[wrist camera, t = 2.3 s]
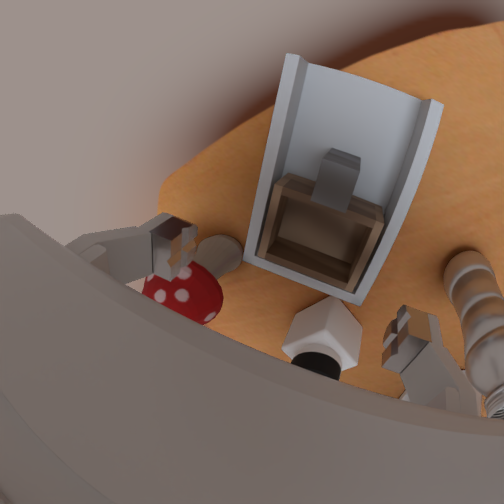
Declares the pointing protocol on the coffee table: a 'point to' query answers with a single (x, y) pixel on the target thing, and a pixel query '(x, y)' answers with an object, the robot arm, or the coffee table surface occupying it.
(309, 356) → the medicine bottle
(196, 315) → the decorative mushroom
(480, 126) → the coffee table surface
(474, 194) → the coffee table surface
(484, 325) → the plastic bottle
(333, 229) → the crate
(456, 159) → the coffee table surface
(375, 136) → the bay
